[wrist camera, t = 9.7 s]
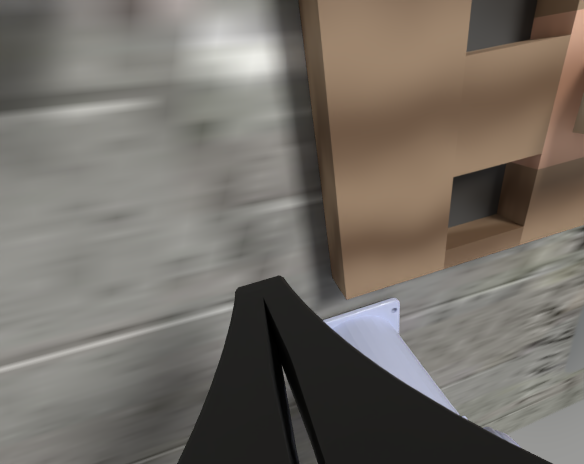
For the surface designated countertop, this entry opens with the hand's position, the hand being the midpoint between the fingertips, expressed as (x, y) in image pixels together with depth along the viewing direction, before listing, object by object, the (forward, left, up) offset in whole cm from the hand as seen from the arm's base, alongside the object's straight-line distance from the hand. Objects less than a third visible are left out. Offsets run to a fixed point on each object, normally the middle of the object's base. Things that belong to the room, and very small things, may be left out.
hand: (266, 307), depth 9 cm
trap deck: (+2, -16, -9) cm, 19 cm away
